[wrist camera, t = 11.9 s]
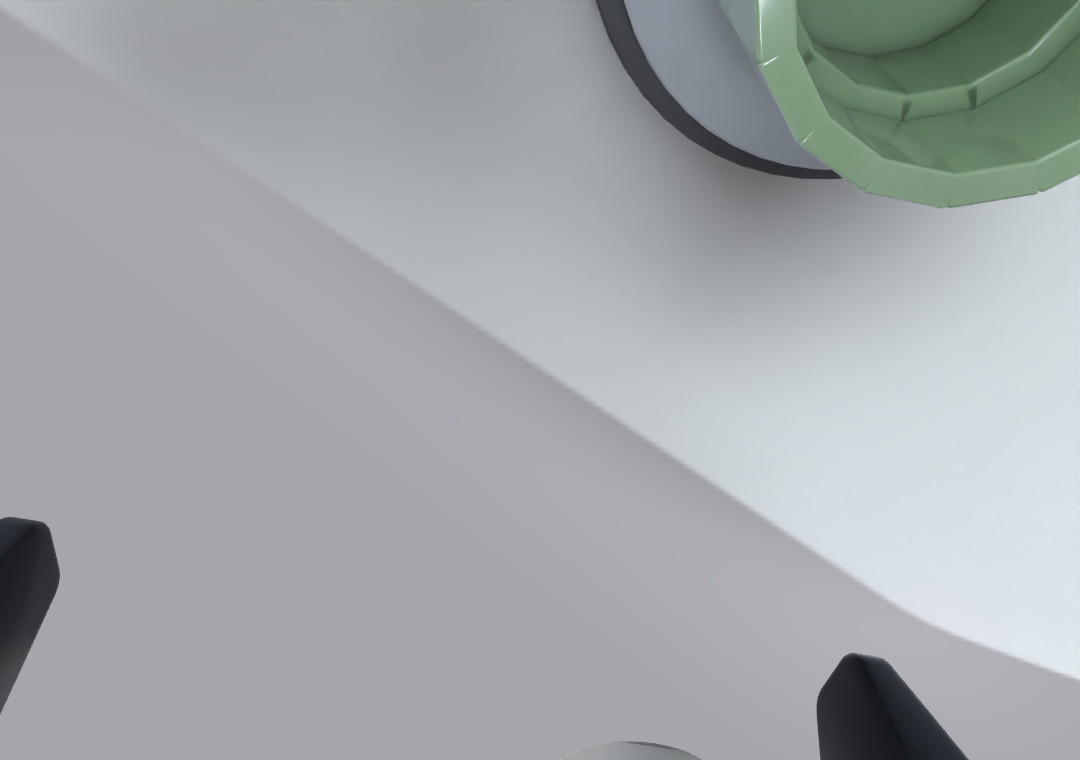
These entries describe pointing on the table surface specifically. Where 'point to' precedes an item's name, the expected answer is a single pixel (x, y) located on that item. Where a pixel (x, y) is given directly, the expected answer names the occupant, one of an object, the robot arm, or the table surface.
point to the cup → (924, 91)
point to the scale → (704, 83)
